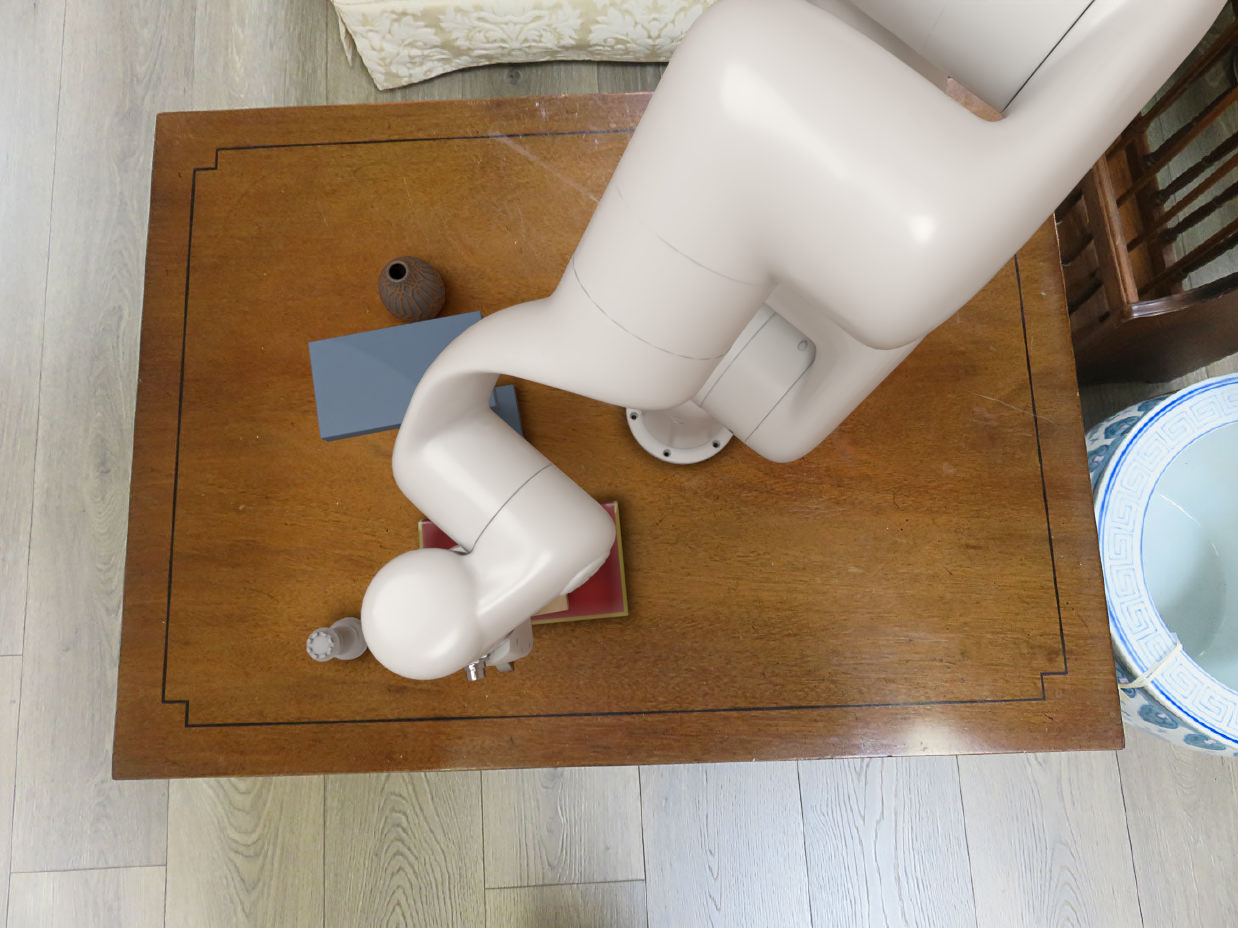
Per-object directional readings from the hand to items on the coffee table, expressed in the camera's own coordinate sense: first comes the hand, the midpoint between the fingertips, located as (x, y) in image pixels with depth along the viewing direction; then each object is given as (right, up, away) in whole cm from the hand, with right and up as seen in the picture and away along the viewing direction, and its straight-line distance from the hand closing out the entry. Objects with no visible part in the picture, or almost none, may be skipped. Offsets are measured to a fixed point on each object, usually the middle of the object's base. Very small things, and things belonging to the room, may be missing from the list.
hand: (508, 597), depth 70 cm
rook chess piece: (-18, -6, +8) cm, 21 cm away
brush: (0, -1, +4) cm, 4 cm away
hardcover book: (+1, +2, +9) cm, 9 cm away
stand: (-6, +17, +11) cm, 21 cm away
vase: (-12, +32, +13) cm, 36 cm away
